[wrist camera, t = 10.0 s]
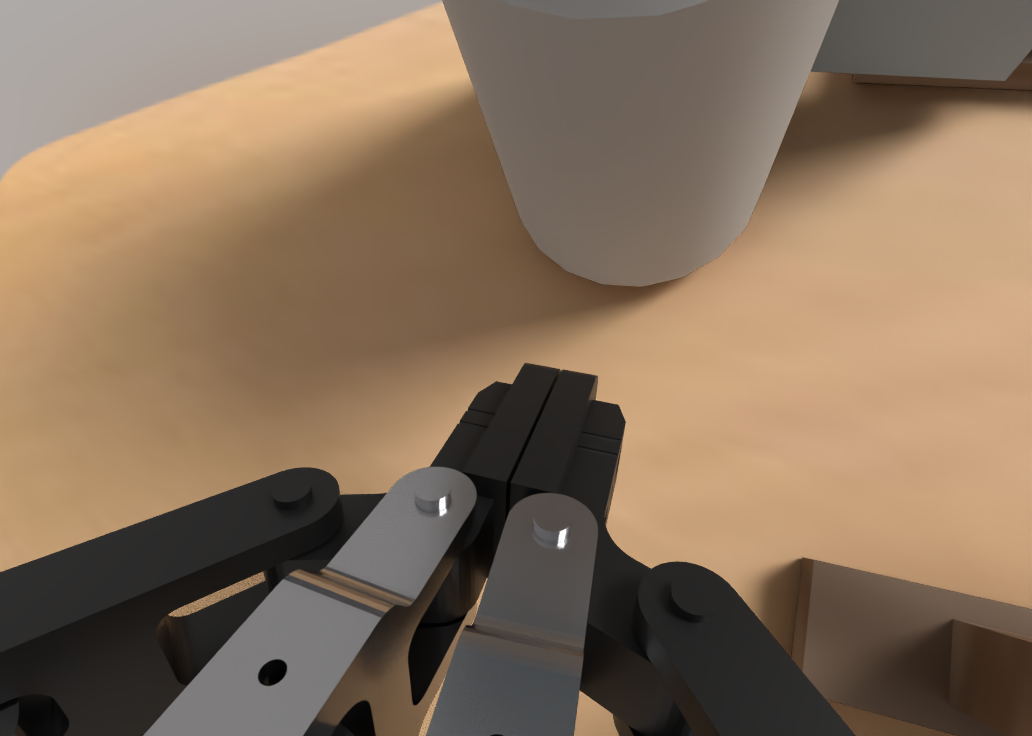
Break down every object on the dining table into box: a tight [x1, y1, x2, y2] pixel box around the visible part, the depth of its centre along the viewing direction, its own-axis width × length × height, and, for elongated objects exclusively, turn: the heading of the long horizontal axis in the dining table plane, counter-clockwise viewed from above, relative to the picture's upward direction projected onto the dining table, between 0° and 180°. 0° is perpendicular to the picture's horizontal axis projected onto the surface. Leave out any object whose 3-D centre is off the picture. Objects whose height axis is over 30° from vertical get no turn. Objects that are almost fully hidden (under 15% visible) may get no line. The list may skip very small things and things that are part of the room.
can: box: [442, 0, 839, 287], centre depth 13 cm, size 8×8×12 cm
